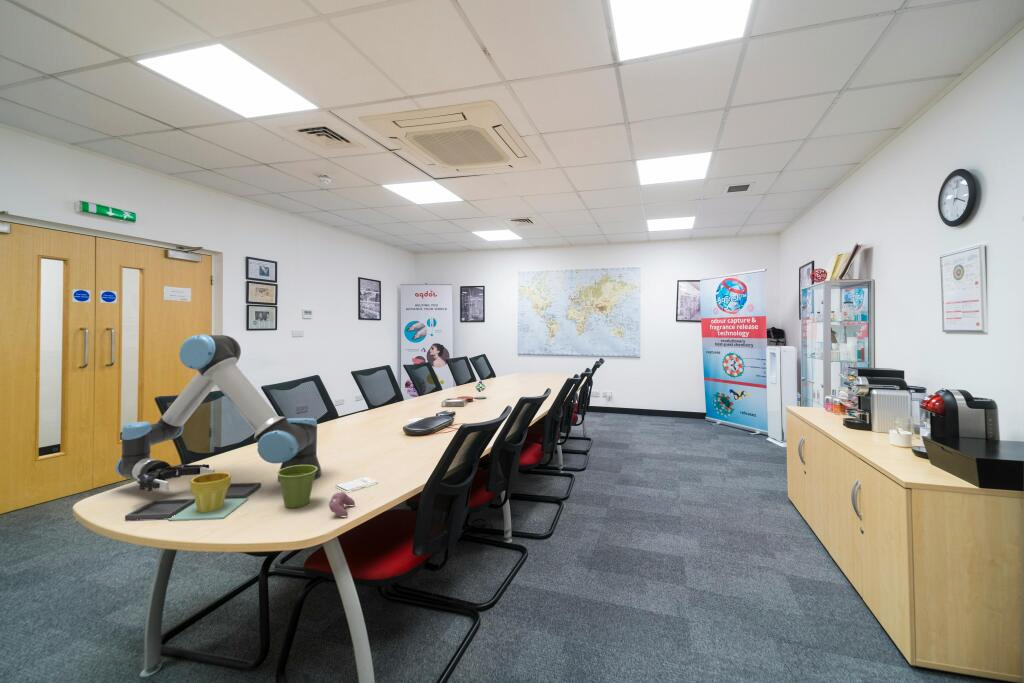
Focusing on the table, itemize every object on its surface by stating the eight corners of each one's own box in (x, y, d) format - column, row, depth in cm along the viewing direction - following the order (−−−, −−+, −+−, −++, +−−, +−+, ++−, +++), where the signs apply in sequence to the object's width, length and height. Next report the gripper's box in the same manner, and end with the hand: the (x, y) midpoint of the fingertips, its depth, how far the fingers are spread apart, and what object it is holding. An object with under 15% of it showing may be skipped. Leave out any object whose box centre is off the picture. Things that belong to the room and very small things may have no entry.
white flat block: (335, 489, 152) (366, 480, 161) (346, 494, 146) (377, 485, 156) (335, 484, 152) (366, 476, 161) (346, 490, 146) (378, 480, 156)
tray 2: (260, 486, 151) (260, 482, 151) (244, 499, 139) (244, 494, 139) (225, 487, 149) (225, 483, 149) (205, 500, 137) (205, 496, 137)
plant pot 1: (234, 507, 131) (235, 477, 131) (194, 518, 123) (195, 485, 123) (225, 499, 138) (225, 469, 138) (186, 508, 130) (186, 477, 130)
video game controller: (343, 510, 135) (334, 491, 135) (356, 503, 136) (347, 485, 135) (334, 524, 125) (323, 503, 125) (348, 516, 126) (337, 496, 125)
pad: (248, 499, 139) (248, 498, 139) (223, 518, 124) (223, 517, 124) (199, 501, 137) (199, 499, 137) (168, 521, 122) (168, 519, 122)
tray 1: (194, 503, 135) (195, 498, 135) (169, 518, 123) (169, 513, 123) (154, 504, 134) (154, 500, 134) (124, 520, 122) (125, 515, 122)
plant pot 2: (271, 513, 129) (271, 476, 129) (283, 498, 140) (283, 465, 140) (312, 510, 131) (312, 474, 131) (320, 496, 143) (321, 463, 143)
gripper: (192, 471, 154) (230, 479, 146) (105, 494, 130) (145, 505, 122) (192, 451, 153) (230, 458, 146) (105, 470, 130) (145, 480, 122)
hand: (191, 479), depth 134 cm, fingers open, 13 cm apart
